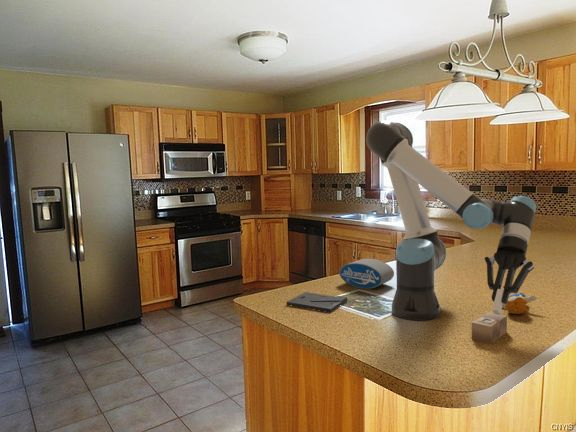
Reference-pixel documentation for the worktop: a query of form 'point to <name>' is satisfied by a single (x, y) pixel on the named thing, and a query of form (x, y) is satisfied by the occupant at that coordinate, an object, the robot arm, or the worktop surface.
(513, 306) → the toy
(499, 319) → the block
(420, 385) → the worktop surface
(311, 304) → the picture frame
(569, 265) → the worktop surface
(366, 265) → the sign
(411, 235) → the robot arm
